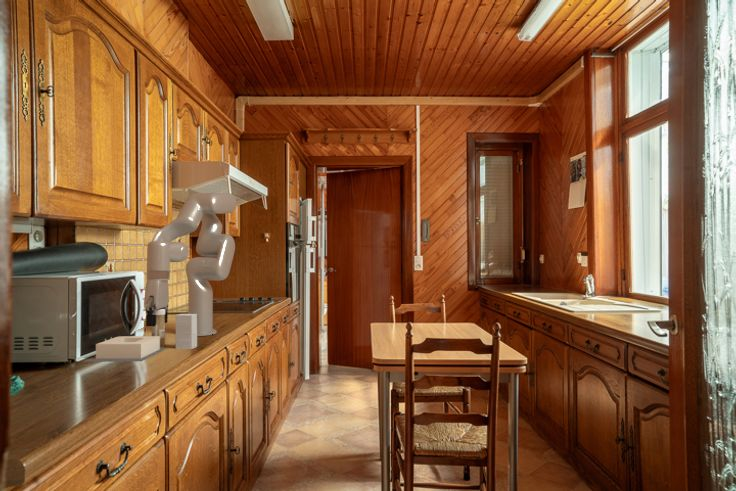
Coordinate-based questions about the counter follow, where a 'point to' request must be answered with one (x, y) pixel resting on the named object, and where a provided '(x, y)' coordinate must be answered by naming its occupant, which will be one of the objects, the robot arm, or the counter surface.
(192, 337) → the skincare box
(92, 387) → the counter surface
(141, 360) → the slate mat
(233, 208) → the robot arm
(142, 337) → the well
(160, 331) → the sprinkles bottle
